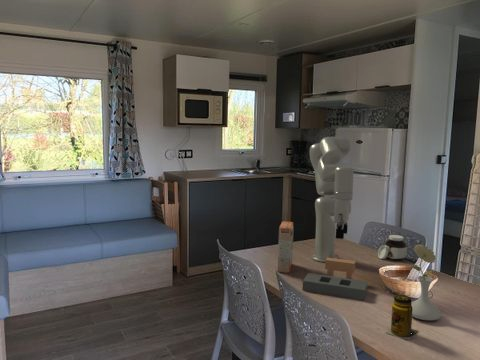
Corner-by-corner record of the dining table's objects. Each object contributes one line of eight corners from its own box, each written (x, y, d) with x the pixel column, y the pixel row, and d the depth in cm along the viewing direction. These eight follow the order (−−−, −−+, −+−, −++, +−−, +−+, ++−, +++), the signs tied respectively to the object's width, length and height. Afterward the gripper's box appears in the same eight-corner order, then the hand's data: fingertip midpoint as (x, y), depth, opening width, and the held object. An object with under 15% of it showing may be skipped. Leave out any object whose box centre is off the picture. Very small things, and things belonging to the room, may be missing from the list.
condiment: (386, 333, 132) (388, 297, 131) (395, 324, 138) (397, 289, 137) (409, 341, 127) (411, 304, 126) (418, 331, 134) (420, 295, 132)
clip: (326, 277, 182) (327, 257, 181) (354, 281, 177) (355, 261, 176) (324, 280, 178) (325, 260, 177) (353, 284, 173) (354, 263, 172)
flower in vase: (448, 322, 140) (453, 251, 137) (417, 324, 138) (422, 252, 135) (425, 306, 153) (429, 240, 150) (396, 308, 151) (400, 241, 148)
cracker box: (290, 273, 186) (291, 228, 183) (277, 272, 187) (278, 227, 184) (292, 263, 199) (294, 221, 197) (280, 262, 200) (281, 220, 198)
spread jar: (408, 260, 207) (409, 237, 206) (394, 264, 201) (395, 240, 199) (387, 254, 217) (389, 232, 216) (374, 257, 211) (375, 235, 209)
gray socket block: (308, 281, 176) (308, 272, 175) (366, 290, 167) (367, 281, 166) (302, 290, 167) (302, 280, 166) (364, 300, 157) (364, 290, 157)
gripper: (337, 192, 182) (336, 230, 184) (330, 198, 167) (328, 239, 169) (355, 193, 179) (353, 232, 181) (349, 199, 164) (347, 241, 166)
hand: (341, 235), depth 175 cm, fingers open, 9 cm apart
